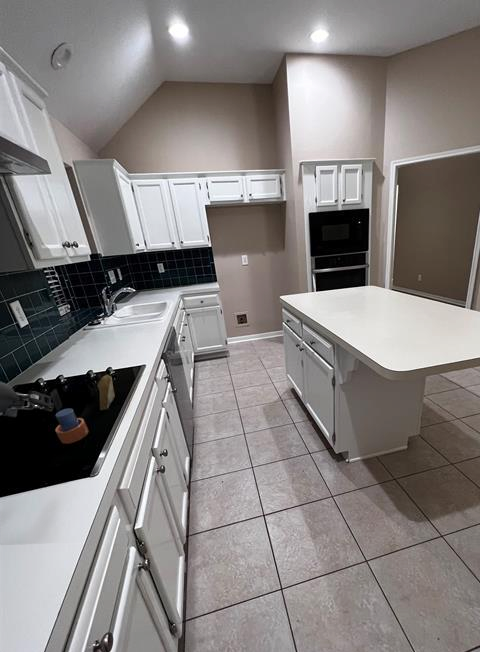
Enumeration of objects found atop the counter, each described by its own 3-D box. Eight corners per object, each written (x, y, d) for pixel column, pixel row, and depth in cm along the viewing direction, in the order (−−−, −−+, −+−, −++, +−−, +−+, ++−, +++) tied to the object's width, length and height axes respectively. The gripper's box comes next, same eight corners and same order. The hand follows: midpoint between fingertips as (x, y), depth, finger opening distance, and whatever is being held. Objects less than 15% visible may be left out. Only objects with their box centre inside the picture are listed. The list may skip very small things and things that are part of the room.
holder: (56, 438, 95) (51, 428, 94) (82, 425, 101) (77, 415, 99) (66, 446, 91) (61, 435, 90) (92, 433, 97) (88, 422, 95)
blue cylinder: (63, 436, 95) (52, 414, 92) (79, 428, 98) (69, 406, 95) (69, 440, 93) (58, 418, 89) (85, 432, 96) (75, 410, 93)
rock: (109, 406, 106) (127, 388, 114) (87, 389, 103) (107, 372, 111) (97, 419, 111) (114, 401, 119) (75, 404, 109) (95, 386, 117)
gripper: (17, 371, 67) (64, 392, 82) (-57, 381, 66) (5, 400, 81) (13, 405, 65) (62, 420, 80) (-64, 417, 63) (1, 429, 78)
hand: (33, 410), depth 80 cm, fingers open, 8 cm apart
